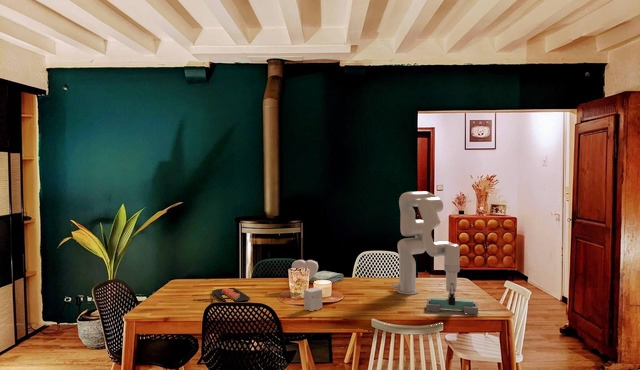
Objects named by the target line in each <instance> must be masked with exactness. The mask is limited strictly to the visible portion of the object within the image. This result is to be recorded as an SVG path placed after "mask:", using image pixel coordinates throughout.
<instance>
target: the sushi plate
mask: <svg viewBox="0 0 640 370" xmlns="http://www.w3.org/2000/svg"><path fill="white" fill-rule="evenodd" d="M211 292H212V294H213V295H212V298H199V299H195V298H194V301H195V300H198V301H210V300H211V304H212V303H214V299H215V296H216V297H217V300H221V301H223V302H224V301H225V302H224V303H226V300H225V299H231V300H233V301H234V302H235V303H240V302H244V301H245V302H246V301H249V300H251V297H250V296H248V295H247V294H245V293H244V292H242V291H241V290H239V289H237V288H236V287H225V288H219V289H214V290H212V291H211ZM222 295H225V296H227V297H228V298H223V297H222Z"/></svg>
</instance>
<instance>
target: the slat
mask: <svg viewBox="0 0 640 370" xmlns="http://www.w3.org/2000/svg"><path fill="white" fill-rule="evenodd" d="M429 300H430V304H440V309H441V310H455V311H464V306H472V307H473V303H474V300H471V299H459V298H458V299H457V298H455V305H449V299H448V298H444V297H443V298H442V297H441V298H438V297H430V299H429Z"/></svg>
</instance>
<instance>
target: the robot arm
mask: <svg viewBox="0 0 640 370" xmlns="http://www.w3.org/2000/svg"><path fill="white" fill-rule="evenodd" d="M398 199H399V200H398V204H399V210H400V233H401V235H402V236H403V237H406V238H402V239H400V240H399V241H398V242H397V245H396V246H397V252H398V263H399V264H398V266H399V269H398V270H399V271H398V272H399V275H398V276H399V282H398V283H397V284H395V283H391V288H393V289H396V292H397V293H398V294H401V295H409V296H410V295H416V294H418V293H419V289H418V288H417V287H416V286H417V285H416V284H417V281H416V279H417V274H416V273H417V271H416V270H417V269H416V267H417V266H416V260H415V257H414V256H413V255H419V254H424V253H425V252H426V253H427V254H428V255H429V256H430V257H435V258H436V257H443V258H444V260H443V261H444V263H443V265H444V267H443V268H444V269H443V271H444V272H445V291H446V292H448V295H447V296H448V298H447V299H449V305H455V299H456V293H455V292H456V291H457V286H458V285H457V284H458V273H460V270H461V269H460V261H461V259H460V258H461V257H460V252H461V251H460V249H461V247H460V245H459V244H458V243H452V242H451V241H447V240H441V241H434V239H433V236H432V231H433V230H434V229H435V228H437V227H439V226H440V224H441V219H440V217H439V215H438V213H440V212H442V211H443V209H444V203H443V201H442V199H441V198H440V197H439V196H438V195H435V194H433V193H431V192H429V191H426V190H425V191H424V190H423V191H420V190H419V191H406V192H404V193H402V194H401V195H400V197H399V198H398ZM414 207H417V208H418V211H419V214H420V217H421V219H417V218H416V212H415V209H414ZM407 237H408V238H407Z"/></svg>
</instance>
